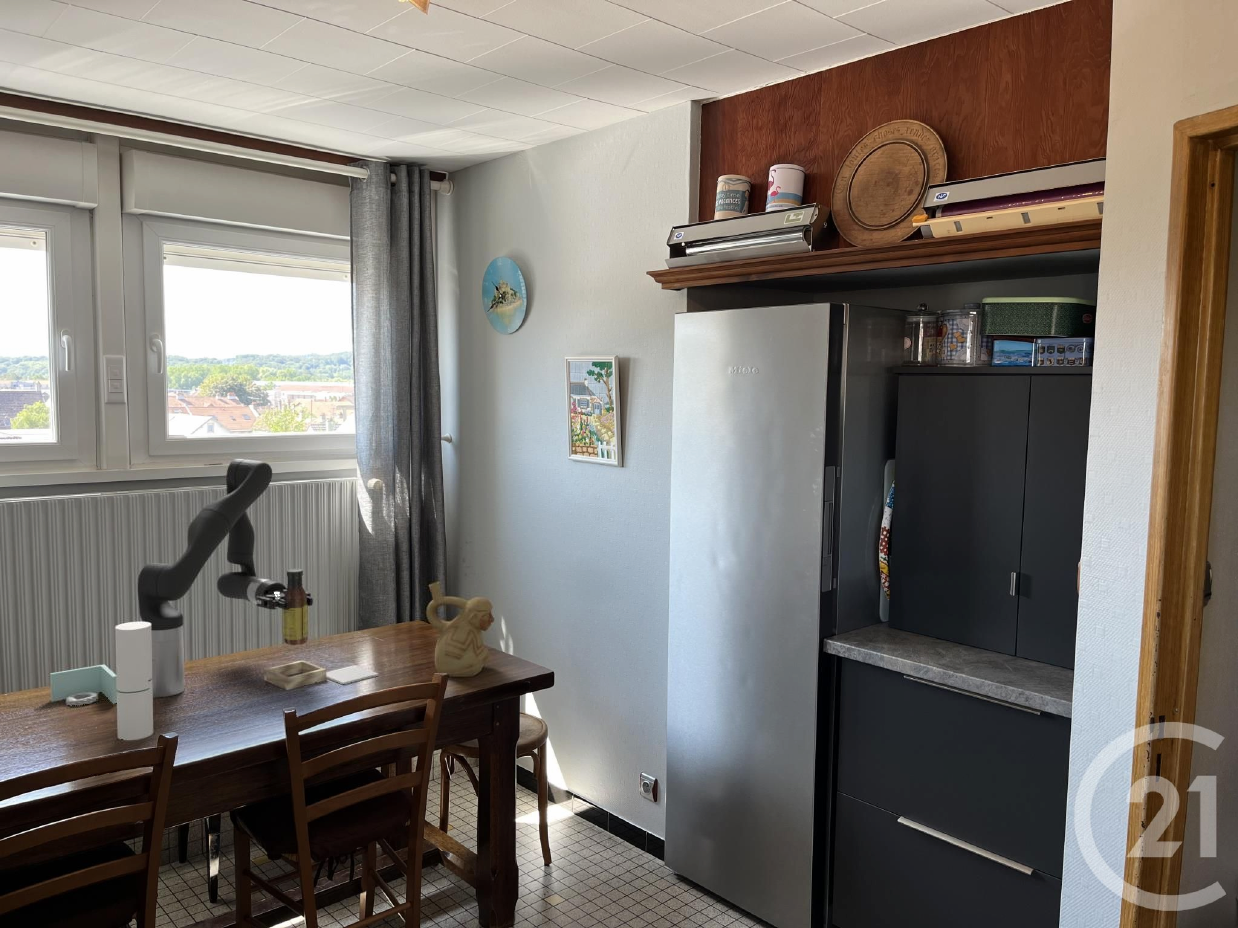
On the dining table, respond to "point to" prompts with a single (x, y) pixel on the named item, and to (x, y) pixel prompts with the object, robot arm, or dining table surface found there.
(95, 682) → the l-shaped corner panel
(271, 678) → the wood collar
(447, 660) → the ceramic vessel
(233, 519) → the robot arm
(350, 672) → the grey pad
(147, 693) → the cylindrical container
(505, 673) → the dining table surface
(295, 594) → the sauce bottle
